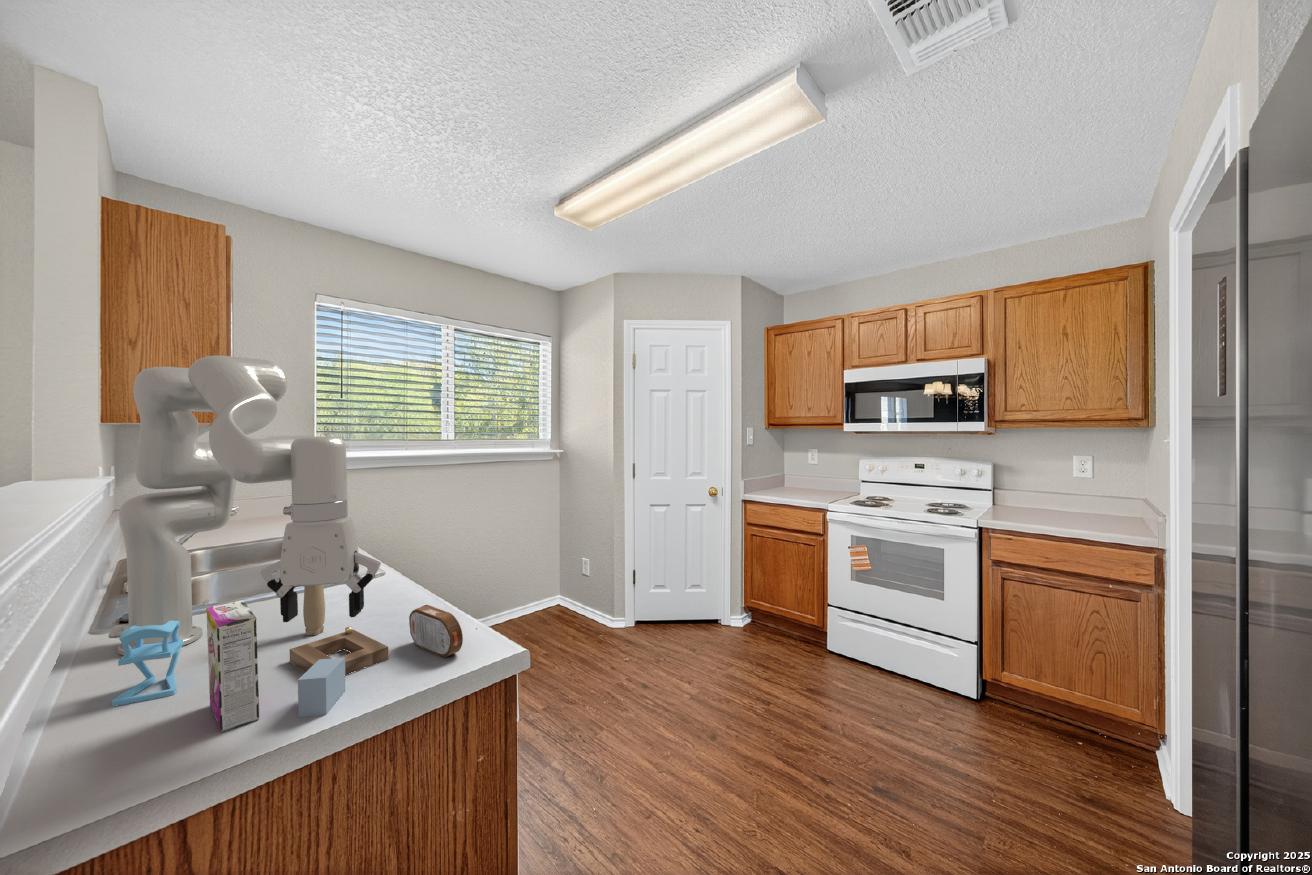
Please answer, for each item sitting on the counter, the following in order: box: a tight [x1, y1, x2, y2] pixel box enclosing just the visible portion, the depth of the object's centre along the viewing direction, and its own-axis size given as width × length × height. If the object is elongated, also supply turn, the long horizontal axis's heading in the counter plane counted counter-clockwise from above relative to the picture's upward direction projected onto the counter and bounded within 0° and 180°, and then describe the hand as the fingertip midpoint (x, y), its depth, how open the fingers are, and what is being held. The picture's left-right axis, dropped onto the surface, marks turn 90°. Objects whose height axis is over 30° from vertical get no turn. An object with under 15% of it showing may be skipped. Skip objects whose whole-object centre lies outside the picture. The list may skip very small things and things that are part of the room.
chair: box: [111, 621, 183, 707], centre depth 87 cm, size 8×8×12 cm
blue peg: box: [297, 657, 346, 718], centre depth 83 cm, size 4×7×6 cm, turn 10°
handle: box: [302, 585, 326, 637], centre depth 110 cm, size 5×6×15 cm
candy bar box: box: [205, 599, 260, 733], centre depth 80 cm, size 11×5×16 cm, turn 48°
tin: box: [408, 604, 464, 658], centre depth 102 cm, size 15×3×8 cm, turn 57°
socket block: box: [289, 626, 389, 676], centre depth 98 cm, size 12×14×4 cm
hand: (323, 616), depth 82 cm, fingers open, 9 cm apart
